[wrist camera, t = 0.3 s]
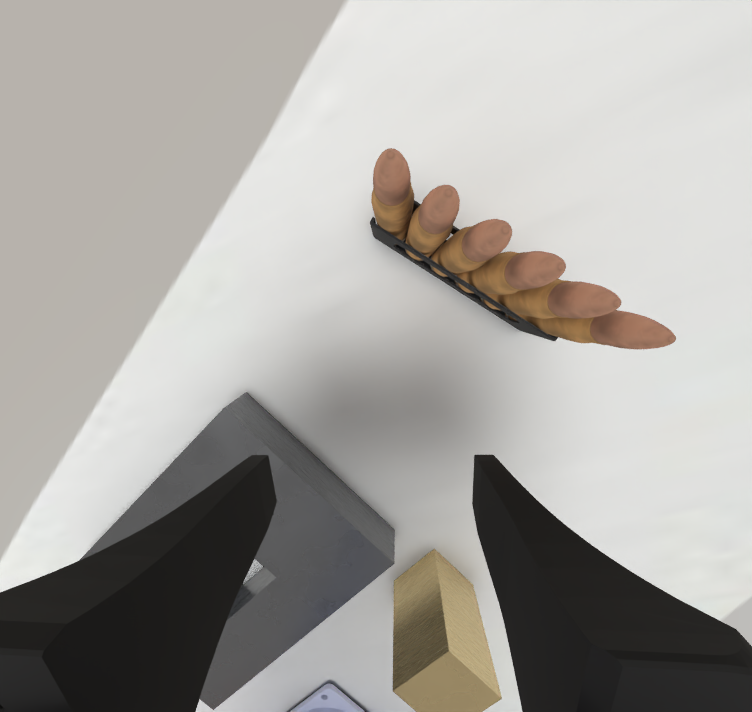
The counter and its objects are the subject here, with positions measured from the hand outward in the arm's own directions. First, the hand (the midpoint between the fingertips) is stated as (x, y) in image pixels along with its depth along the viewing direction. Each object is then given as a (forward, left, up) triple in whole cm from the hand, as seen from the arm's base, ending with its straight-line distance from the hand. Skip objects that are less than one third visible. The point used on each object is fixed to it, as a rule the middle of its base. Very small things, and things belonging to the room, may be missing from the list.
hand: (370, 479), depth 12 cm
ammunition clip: (+8, +2, -11) cm, 14 cm away
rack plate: (-16, -1, -11) cm, 19 cm away
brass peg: (-8, -13, -11) cm, 18 cm away
